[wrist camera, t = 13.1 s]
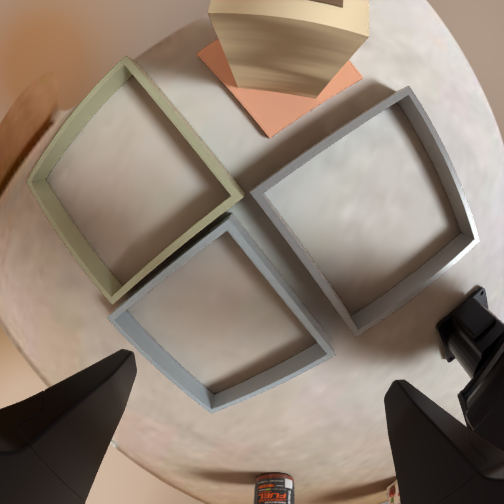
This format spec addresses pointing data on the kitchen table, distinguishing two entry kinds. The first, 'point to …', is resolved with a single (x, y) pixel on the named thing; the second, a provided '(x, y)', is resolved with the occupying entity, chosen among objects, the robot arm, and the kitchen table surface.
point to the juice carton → (393, 493)
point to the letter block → (289, 41)
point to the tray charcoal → (427, 270)
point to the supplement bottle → (274, 489)
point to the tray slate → (254, 384)
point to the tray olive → (63, 140)
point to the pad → (274, 103)
